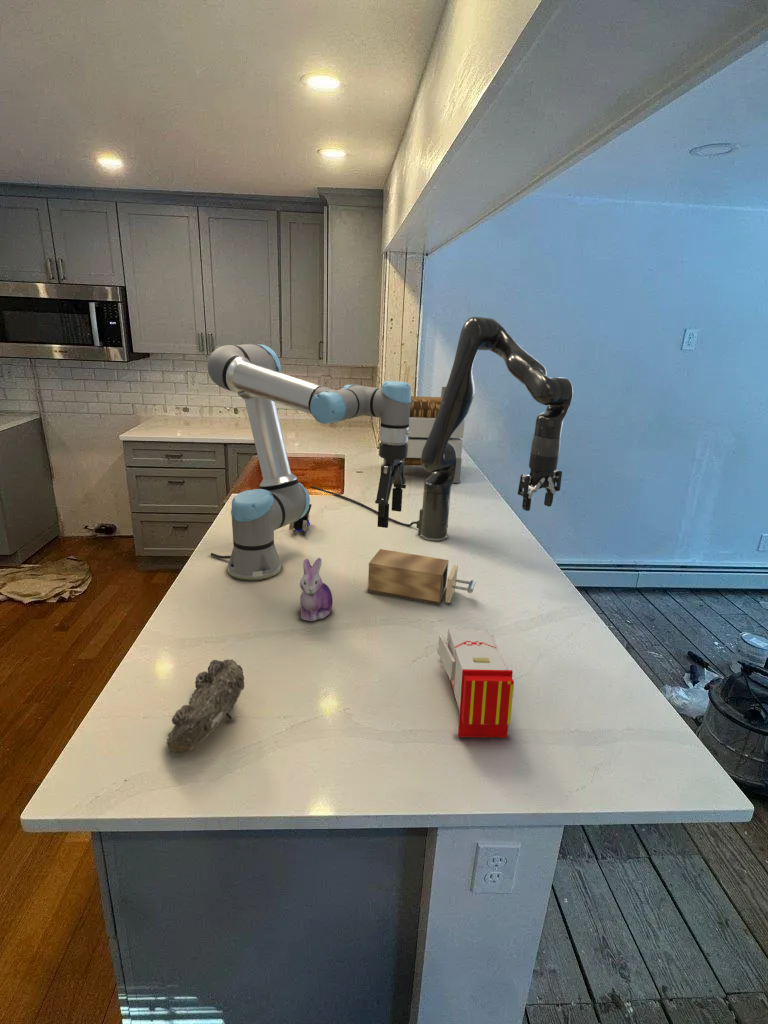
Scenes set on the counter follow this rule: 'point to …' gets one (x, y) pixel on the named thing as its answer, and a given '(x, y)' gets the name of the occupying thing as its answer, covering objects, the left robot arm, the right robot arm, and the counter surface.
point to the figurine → (314, 593)
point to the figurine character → (301, 523)
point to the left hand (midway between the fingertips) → (389, 518)
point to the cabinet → (406, 576)
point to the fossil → (206, 705)
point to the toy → (478, 682)
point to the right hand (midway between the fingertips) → (536, 507)
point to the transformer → (428, 431)
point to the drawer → (453, 583)
